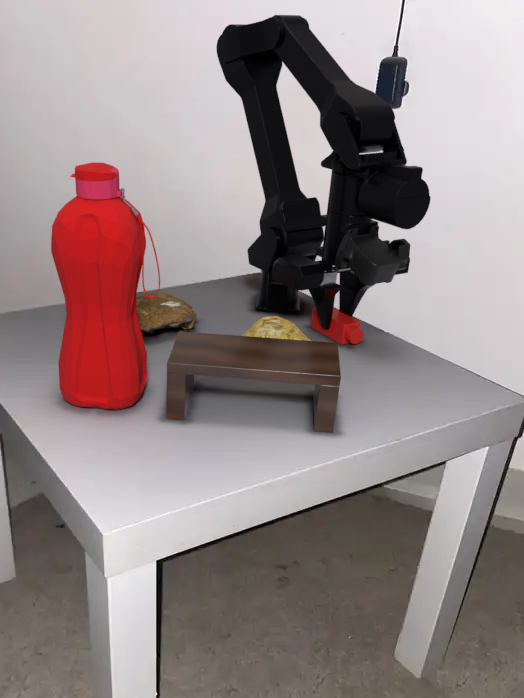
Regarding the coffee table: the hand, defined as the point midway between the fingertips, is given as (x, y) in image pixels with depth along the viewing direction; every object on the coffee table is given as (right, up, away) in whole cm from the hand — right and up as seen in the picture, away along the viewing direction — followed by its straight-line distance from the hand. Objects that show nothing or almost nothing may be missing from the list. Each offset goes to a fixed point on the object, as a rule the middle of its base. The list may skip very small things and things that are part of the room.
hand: (334, 327), depth 106 cm
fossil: (-9, -5, -6) cm, 12 cm away
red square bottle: (0, -1, +1) cm, 1 cm away
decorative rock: (-26, 0, 0) cm, 26 cm away
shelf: (-13, -12, -19) cm, 26 cm away
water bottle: (-29, -11, -17) cm, 35 cm away
